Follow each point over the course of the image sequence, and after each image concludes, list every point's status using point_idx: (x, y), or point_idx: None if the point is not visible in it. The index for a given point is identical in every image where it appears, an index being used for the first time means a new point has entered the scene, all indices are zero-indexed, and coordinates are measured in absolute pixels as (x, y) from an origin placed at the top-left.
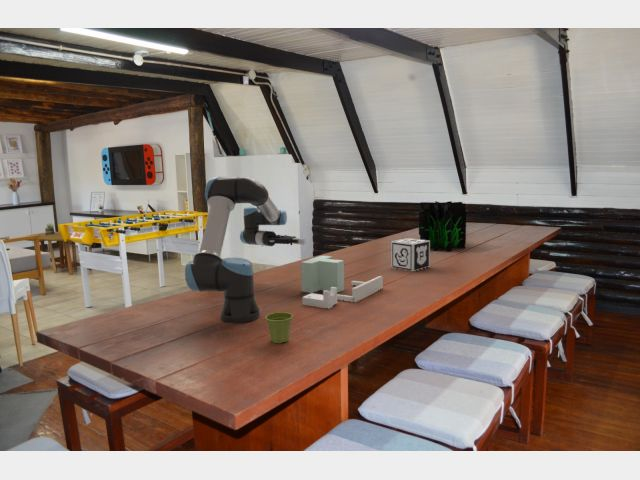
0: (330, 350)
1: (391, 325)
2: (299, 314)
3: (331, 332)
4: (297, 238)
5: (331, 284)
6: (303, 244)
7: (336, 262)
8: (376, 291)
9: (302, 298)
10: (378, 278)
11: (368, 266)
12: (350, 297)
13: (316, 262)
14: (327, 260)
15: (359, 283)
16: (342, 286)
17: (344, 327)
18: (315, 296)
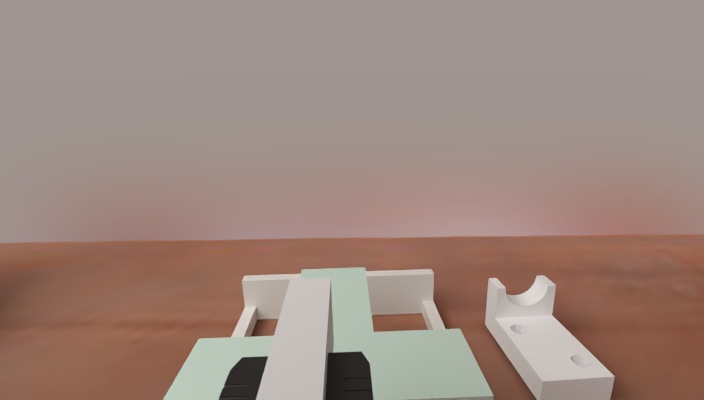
0: (666, 243)
1: (494, 236)
2: (668, 353)
3: (626, 265)
4: (321, 342)
5: None
6: (333, 343)
7: (359, 270)
8: None
9: (613, 380)
10: (275, 276)
11: None
12: (434, 304)
13: (401, 335)
14: (335, 308)
15: None
16: None
17: (582, 263)
18: (552, 348)
